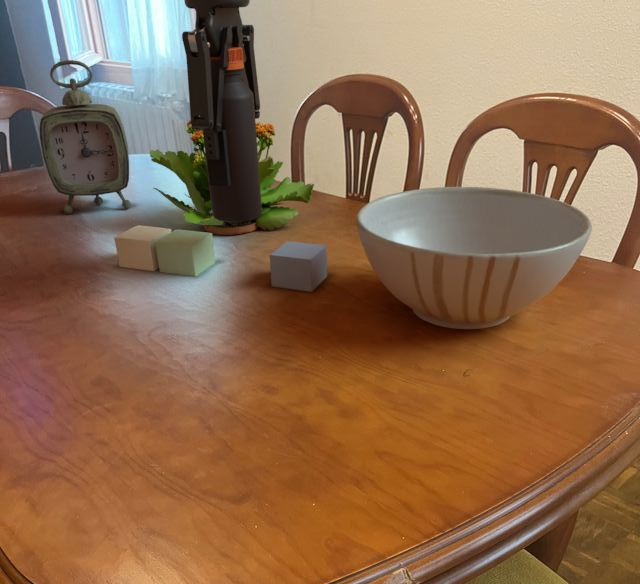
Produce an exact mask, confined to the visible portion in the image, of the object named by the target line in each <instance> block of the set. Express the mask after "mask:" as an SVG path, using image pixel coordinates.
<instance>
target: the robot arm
mask: <svg viewBox="0 0 640 584" xmlns="http://www.w3.org/2000/svg"><path fill="white" fill-rule="evenodd" d="M250 1H251V0H184V5H185V7H186V8H188V9H191V10H194V11H195V24H194V29H193V30H192V31H189V30H188V31H185V30H184V31H183V32H182V34H181V41H182V44H183V49H184V52H185V58H186V72H187V84H188V97H189V99H188V100H189V113H190V120H191V124H190V126H193V127H194V128H195V130H201V131H203V133H204V140H205V147H204V150H205V149H206V157H207V165H208V174H209V183H210V185H219V186H230V185H231V179H230V168H229V158H228V147H227V137H226V130H221V127H222V109H223V91H224V73H225V71H226V70H227V69H228V66H229V57H228V49H230V48H234V47H242V49H243V63H244V68H242V70H244V72H243V73H242V81H243V82H244V83H245V84H246V86H247V87H248V88H249V89H250V90H251V91H252V92H253V96H254V109H255V120H256V119H260V116H261V101H260V91H259V84H258V74H257V72H258V71H257V64H256V57H255V56H256V55H255V46H254V45H255V28H254V25H253V24H243V20H242V17H241V13H240V8H246V7H248V6H249V5H250ZM210 57H216V58H218V57H220V59H219V60H210Z"/></svg>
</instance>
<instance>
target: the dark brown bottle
mask: <svg viewBox="0 0 640 584" xmlns="http://www.w3.org/2000/svg"><path fill="white" fill-rule="evenodd" d="M228 57H229V66H228V69H227V70H226V71H225V73H224V91H223V109H222V127H221V130H226V137H227V147H228V158H229V168H230V179H231V185H230V186H219V185H210V183H209V190H210V198H211V207H212V210H211V214H212V215H213V217H214V218H215V219H217V220H219V221H223V222H244V221H250V220H253V219H256V218H258V217H259V216H260V215H261V213H262V206H261V192H260V178H259V164H258V152H259V150H258V146H257V142H258V138H257V136H256V124H257V122H256V119H255V109H254V96H253V92H252V91H251V90H250V89H249V88H248V87H247V86H246V84H245V83H244V82H243V81H242V73H243V72H244V70H242V68H244V63H243V49H242V47H234V48H230V49H228ZM219 59H220V57H218V58H216V57H210V60H219ZM203 137H204V133H203ZM204 146H205V140H204ZM204 151H205V155H206V149H205V148H204ZM206 163H207V157H206ZM207 172H208V165H207ZM208 181H209V174H208Z"/></svg>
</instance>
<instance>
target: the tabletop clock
mask: <svg viewBox="0 0 640 584" xmlns="http://www.w3.org/2000/svg"><path fill="white" fill-rule="evenodd" d="M68 65H75V66H79V67H82V68H83V69H86V71H87V72H88V73H89V78H88V79H86V80H84V81H82V82H77V80H76V78H72V77H71V78H70V79H69V83H64V82H60V81H58V80H56V79H55V77H54V72H55V71H56V69H58V68H60V67H62V66H68ZM49 76H50V79H51V81H52V82H53V83H55V84H56V85H57V86H58V87H62V88H65V89H70V90H67V91H65V93H64V94H63V97H62V100H61V101H62V102H61V106H55V107H53V108H50V109H49V110H47V111H45V112H44V113H43V115H42V116H41V118H40V122H39V142H40V147H41V153H42V158H43V161H44V164H45V167H46V170H47V174H48V176H49V179H50V181H51V184H52V185H53V187H54V188H55V190H56V191H57V193H59V194H62V195H65V196H68V200H67V201H68V202H67V204H65V205H64V206H63V211H64V213H65V214H67V215H71V214H72V213H73V211H74V209H73V206H72V203H73V200H74V197H86V196H88V197H89V196H91V197H92V196H93V197H94V196H95V197H94V199H93V202H94V204H95V205H96V206H101V205H102V204H103V202H104V200H103V198H102V196H101V195H107V194H115V193H116V194H117V195H118V197H119V198H120V199H121V201H122V202H121V205H122V207H123V209H125V210H128V209H130V208H131V206H132V203H131V202H130V200H128V199H126V198H125V196H124V194H123V193H122V190H125V189H126V188H128V184H129V180H130V157H129V156H130V154H129V145H128V141H127V136H126V132H125V129H124V124H123V121H122V120H121V117H120V115H119V113H118V111H117V109H116V108H115V107H113V106H110V105H107V104H101V103H93V100H92V98H91V96H90V95H89V94H88V93H87V92H86V91H85V90H82V89H79V88H83V87H86V86H87V85H89V84H90V83H91V82H92V80H93V72H92V70H91V68H90V67H89V66H88V65H87V64H86V63H85V62H82V61H80V60H74V59H66V60H61V61H58V62H57V63H55V64H53V66H52V67H51V69H50V72H49Z"/></svg>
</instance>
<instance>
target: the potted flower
mask: <svg viewBox="0 0 640 584" xmlns="http://www.w3.org/2000/svg"><path fill="white" fill-rule="evenodd" d="M186 127H187V129H186V133H187V134H191V136H190V141H192V142H193V145H194V146H195V147H194V148H193V151H194V152H191V153H189V154H188V152H185V151H184V150H178V151H177V152H176V151H172V150H168V151H166V152H164V153H165V154H164V153H163V152H162V151H161V150H159V149H155V150H154V149H152V150H151V149H150V151H149V157H150V159H151V162H153V163H155V164H158V165H160V166H162V167H164V168H166V169H168V170H169V171H171V172H172V173H174V174H175V175H176V176H177V177H178V179H179V180H181V182H182V183H183V184H184V185H185V186H186V187H185V188H186V189H187V193H188V194H186V193H184V196H186V197H187V198H189V199H190V200H191V202H192V204H193V206H194V207H195V208H193V207H192V206H190V204H185V201H183V200H179V199H178V198H176V197H175V196H171V195H170V194H168V193H165V192H164V191H163V190H160V189H158V188H157V187H152V189H154V190H156V191H157V192H158V193H160V194H161V195H162V196H163V197H164V198H165V199H167V200H168V201H169V202H171V203H172V204H173V205H174V206H176V207H177V208H178V209H180V210H182V211H184V212H185V213H183V214H182V215H183V217H184V221H185V222H187V223H189V224H196V225H201V226H203V228H204V230H205V232H207V233H212V235H217V236H218V235H219V236H237V235H243V234H249V233H252V232H254V231H256V230H257V229H258V228H261V230H264V231H266V230H267V229H268V230H269V231H272V230H275V228H276V229H278V228H282V227H283V225H287V224H288V222H289V221H291V220H293V218H294V217H297V216H298V214H299V213H300V212H299V211H298V210H297V209H296V208H291V207H288V206H286V207H284V206H279V205H284V203H283V202H300V203H305V204H309V203H310V201H311V199H312V193H313V190H314V187H315V183H307V184H305V182H304V181H302V180H300V181H296V182H291V180H292V179H291V178H290V177H289V176H286V177H284V179H282V181H281V182H280V183H279V184H278V185H277V186H276V187H275V188H271V186H272V185H273V184H275V182H276V177H277V175H278V173H279V171H280V169H281V168H282V166H283V165H284V162H283V161H280V160H278V161H276V162H274V158H273V157H272V155H269V151H270V146H274V144H273V143H274V142H273V141H274V140H273V137H272V136H276V132H275V130H274V129H275V127H274V125H273V124H270V123H264V122H263V123H261V121H259V122H256V136H257V147H259V150H258V164H259V178H260V192H261V206H262V213H261V215H260V216H259V217H258V218H256V219H253V220H250V221H244V222H223V221H219V220H217V219H215V218H214V217H213V215H212V213H211V212H212V207H211V198H210V190H209V181H208V172H207V163H206V155H205V146H204V137H203V131H202V130H195V128H194V127H193V126H192V125H191V119H190V120H188V122H186ZM196 146H197V147H198V148H197V147H196ZM265 149H266V155H265V158H264V159H262V160H260V159H261V156H262V153H263V151H264V150H265ZM196 152H197V153H196ZM270 188H271V189H270ZM281 202H282V203H281Z"/></svg>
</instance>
